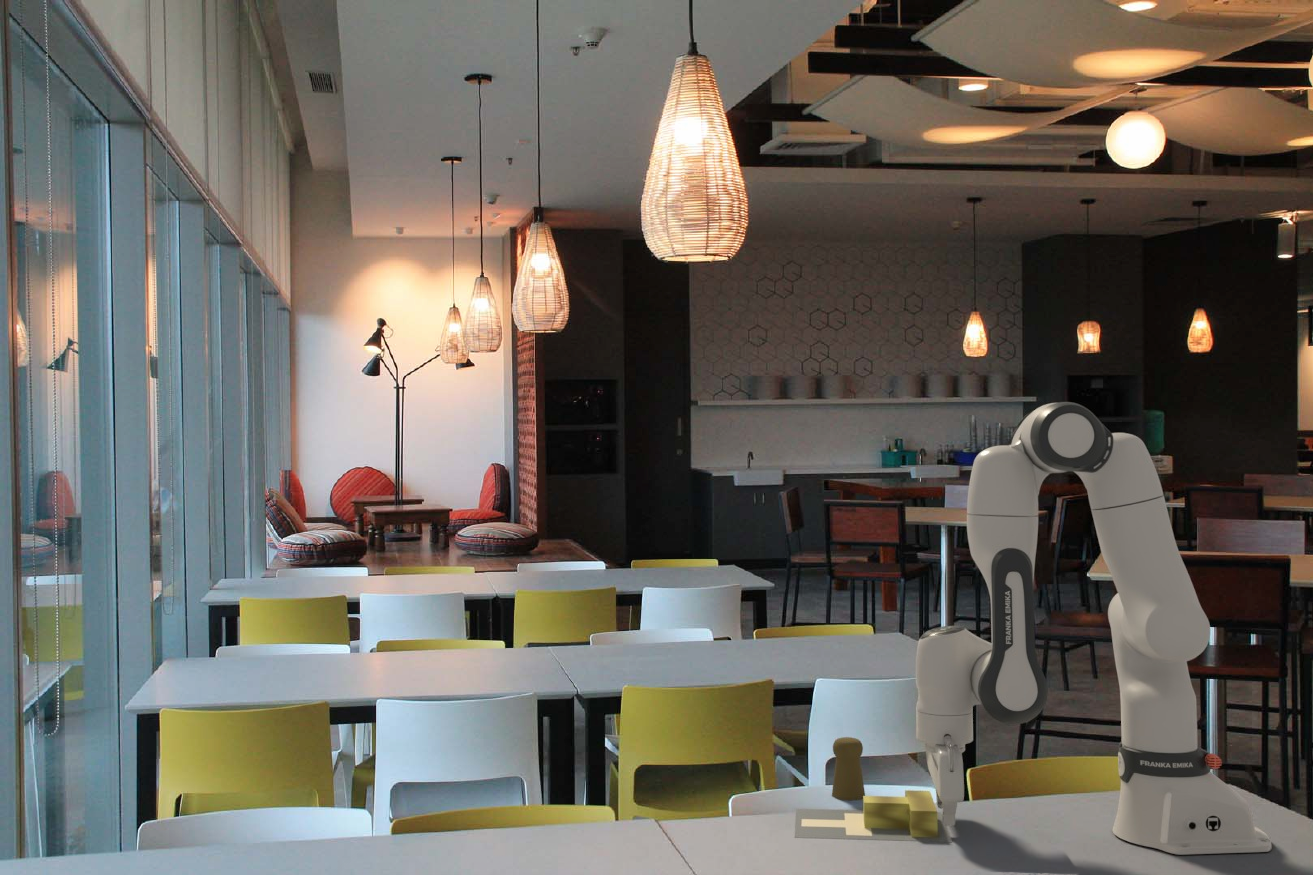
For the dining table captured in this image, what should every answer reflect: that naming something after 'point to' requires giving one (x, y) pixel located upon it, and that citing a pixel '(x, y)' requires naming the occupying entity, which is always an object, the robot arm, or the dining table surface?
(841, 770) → the cork
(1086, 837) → the dining table surface
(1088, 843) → the dining table surface
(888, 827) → the t block
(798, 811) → the board
